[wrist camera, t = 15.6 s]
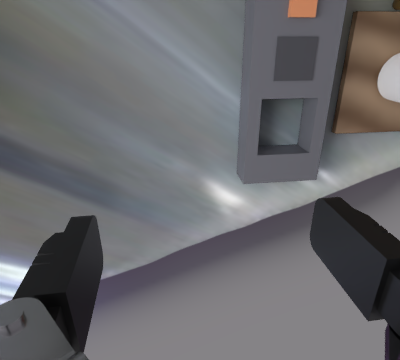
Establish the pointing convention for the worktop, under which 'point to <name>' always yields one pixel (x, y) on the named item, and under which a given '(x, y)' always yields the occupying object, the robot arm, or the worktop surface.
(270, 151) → the grey block with hole
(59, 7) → the worktop surface
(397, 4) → the kendama
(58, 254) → the robot arm
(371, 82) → the walnut board
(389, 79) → the can
